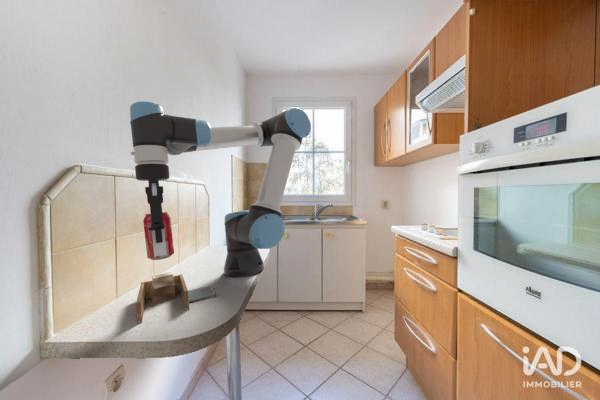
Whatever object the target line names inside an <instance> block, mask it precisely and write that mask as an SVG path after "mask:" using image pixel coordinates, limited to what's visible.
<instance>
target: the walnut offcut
mask: <svg viewBox="0 0 600 400" xmlns="http://www.w3.org/2000/svg"><path fill="white" fill-rule="evenodd" d="M173 282H174V281H173ZM151 296H152V298H151V304H154V303H160V302H164V301H168V300H171V298H172V299H175V297H176V292H175V285H174V284H172V285H168V286H164V287H160V288H156V289H154V287H153V286H151Z"/></svg>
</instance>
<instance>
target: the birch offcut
mask: <svg viewBox="0 0 600 400" xmlns="http://www.w3.org/2000/svg"><path fill="white" fill-rule="evenodd" d="M173 276H174V274H173V273H172V272H171V271H170V272H163V273H160V274H155V275H151V280H152V281H153V287H154V289H156V288H160V287H164V286H168V285H172V284H174V282H173Z"/></svg>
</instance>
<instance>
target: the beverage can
mask: <svg viewBox="0 0 600 400" xmlns="http://www.w3.org/2000/svg"><path fill="white" fill-rule="evenodd" d="M162 215H163V223H164V231H165V241H166V252H167V255H161V256H156V257H154V248H153V237H152V231H149V228H151V225H152V222H151V213H145V216H144V218H143V221H142V222H143V230H144V231H143V232H144V240H145V248H146V258H147V259H150V260H151V261H159V260H165V259H167V258H168V259H169V258H170V257H172V255H174V254H175V248H174V239H173V238H174V237H173V228H172V221H171V219H172V218H171V216H170V215H169V213H168V211H162Z"/></svg>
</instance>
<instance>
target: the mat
mask: <svg viewBox="0 0 600 400" xmlns="http://www.w3.org/2000/svg"><path fill="white" fill-rule="evenodd" d="M214 297H216V293H215V292H214V290H213V289H212V287H211V286H210V285H206V286H203V287H198V288H195V289H190V290H188V300H189V304H191V303H190V302H192V303H195V302H199V301H203V300H206V299H209V298H211V299H212V298H214ZM198 300H199V301H198ZM194 301H195V302H194Z"/></svg>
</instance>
